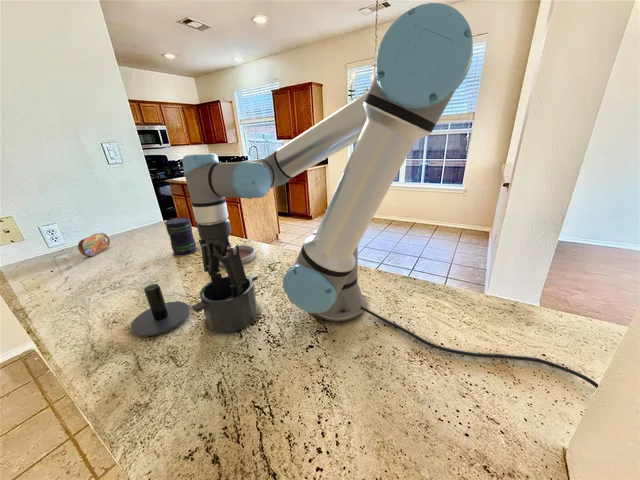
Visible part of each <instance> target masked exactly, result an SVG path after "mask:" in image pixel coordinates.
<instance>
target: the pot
mask: <svg viewBox="0 0 640 480" xmlns="http://www.w3.org/2000/svg"><path fill="white" fill-rule="evenodd" d="M246 278H247V282H246V283H244V284H242V288H243V293H242V294H240V295H239V296H237V297H234V298H231V299H227V300H225V299H226V298H228V297H230V296H231V295H232V291H231V287H230V286H231V285H232V283H231V281H230V278H229V276H228V275H225V276H222V280H223V285H224V290H225V294H224V295H222V296H220V297H218V298H216V297H215V293H214V289H213V285H212V280H211V281H209V282H208V283H206V284H205V285H204V286H203V287H202V288H201V290H200V291H199V293H198V294H199V298H200V301H199V302H197V303H195V304H193V305H192V306H191V309H192V310H193V311H194V312H196V313H199V312H202V311H203V313H204V317H205V321H206V325H207V328H208V329H209V330H210V331H211V332H214V333H217V334H231V333H236V332H238V331H241V330H243V329H245V328H247V327H248V326H250V325H251V324H252V323H253V322H254V321H255V320H256V319H257V317H258V313H259V311H258V309H259V308H258V307H259V306H258V303H257V295H256V290H255V285H254V284H255V283H254V282H255V281H257V280H258V278H259V276H258V275H257V274H253V273H251V274H249V275H248V276H247V275H246Z"/></svg>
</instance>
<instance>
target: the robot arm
mask: <svg viewBox="0 0 640 480" xmlns="http://www.w3.org/2000/svg"><path fill="white" fill-rule="evenodd" d="M472 33H473V32H472V29H471V26H470V24H469V22H468V21H467V19H466V18H465V16H464V14H462V13H461V12H460V11H459V10H458V9H456V8H455V7H453V6H451V5H448V4H446V3H441V2H427V3H423V4H419V5H416V6H414V7H412V8H410V9H409V10H407V11H405V12H404V13H402V14H400V15H399V16H398V18H397V19H395V20H394V21H393V22H392V23H391V25H390V26H389V27H388V29H387V30H386V32H385V33H384V36H383V37H382V39H381V41H380V43H379V45H378V50H377V54H376V58H375V64H374V65H375V66H374V71H375V75H374V77H373V80H372V82H371V84H370V86H369V89H368V91H366V92H365V93H363V94H361V95H359V96H358V97H356V98H355V99H353V100H352V101H351V102H349V103H348V104H345V105H344V106H343V107H341V108H339V109H338V110H337V111H335V112H333V113H332V114H331V115H329V116H327V117H326V118H324V119H323V120H321V121H319V122H318V123H316V124H315V125H313V126H311V127H310V128H309V129H307V130H305V131H304V132H303V133H301V134H299V135H298V136H296V137H294V138H293V139H291V140H290V141H288V142H287V143H285V144H284V145H282V146H280V147H279V148H278V149H276V150H275V151H273V152H271V153H270V154H269V155H267V156H264V157H260V158H255V159H248V160H242V161H235V162H220V161H219V157H218V155H217V154H216V153H212V152H211V153H210V152H209V153H196V154H195V153H194V154H187V155H184V156H183V157H182V159H181V160H182V167H183V173H184V174H183V176H184V178H185V182H186V185H187V190H188V194H189V198H190V203H191V207H192V212H193V215H194V221H195V222H196V223H197V224H196V228H197V232H198V237H199V239H198V243H199V246H200V251H201V258H202V264H203V265H202V266H203V272H205V273H207V274H208V276H209V277H210V280H211V281H212V285H213V289H214V293H215V297H216V298H218V297H220V296H222V295H224V294H225V290H224V285H223V280H222V277H223V275H222V273H221V271H222V270H221V269H220V265H219V261H220V262H222V263H223V265H224V266H223V267H224V270H225V272H226V274H227V276H229V278H230V281H231V283H232V285H231V286H230V287H231V291H232V296H233V298H234V297H237V296H239V295H240V294H242V293H243V288H242V284H244V283H246V282H247V278H246V276H247V275H246V271H245V269H244V268H245V267H244V266H243V265H244V264H242V261H241V258H240V254H239V247H238V246H237V245H238V244H237V245H232V244H231V242H230V239H229V237H230V235H231V234H232V232H233V231H232V226H231V221H230V219H229V211H228V206H227V200H226V198H234V199H235V198H237V199H247V200H252V199H262V198H264V197H265V196H267V194H268V192H269V191H270V190H271V189H273V188H276V187H280V186H282V185H285V184H286V183H288V182H289V180H290V179H293V178H294V177H296V176H298V175H299V174H301V173H303V172H305V171H306V170H308V169H310V168H312V167H314V166H315V165H317V164H319V163H321V162H322V161H325V160H327V159H328V158H330V157H332V156H334V155H335V154H337V153H339V152H341V151H343V150H345V149H346V148H348V147H350V146H351V145H353V144H355V145H354V147H353V150H352V151H351V154H350V156H349V159H348V161H347V162H346V165H345V167H344V170H343V172H342V174H341V176H340V179H339V181H338V183H337V185H336V188H335V190H334V192H333V194H332V197H331V199H330V201H329V204H328V206H327V207H326V209H325V213H324V214H323V217H322V219H321V222H320V223H319V226H318V228H317V229H316V230H314V231H313V232H312V235H311V236H308V237H307V238H306V239H305V240H304V243H303V244H302V246H301V249H300V251H299V253H298V256H297V258H296V260H295V262H294V263H293V265H292V266H290V267H289V268H288V269H287V270H286V273H285V274H284V276H283V279H282V288H283V292H284V293H285V295H286V296H287V299H288V300H289V301H290V302H291V303H292V304H293V305H294V306H295V307H296V308H298V309H299V310H301V311H303V312H306V313H309V314H314V315H315V316H316V317H317V318H319V319H321V320H324V321H328V322H334V323H340V322H347V321H351V320H354V319H355V318H357V317H359V316H360V315H361V314H362V313H363V312H366V313H368V314H369V315H372V316H373V317H375V318H377V319H378V320H381V321H382V322H384V323H386V324H387V325H390V326H391V327H393V328H396V329H398V330H399V331H402V332H404V333H406V334H407V335H409V336H411V337H413V338H414V339H416V340H418V341H419V342H421V343H422V344H425V345H427V346H428V347H431V348H434V349H437V350H440V351H442V352H447V353H451V354H456V355H463V356H468V357H474V358H475V357H476V358H488V359H489V358H492V359H505V360H506V359H507V360H514V361H515V360H516V361H526V362H529V361H530V362H535V363H538V364H539V363H540V364H542V365H547V366H549V367H552V368H555V369H558V370H560V371H563V372H566V373H568V374H571V375H574V376H576V377H578V378H580V379H582V380H584V381H585V382H587V383H589V384H590V385H592V386H593V387H594V388H596V389H597V387H598V385H599V383H597V382H596V381H594V380H593V379H591V378H590V377H588V376H586V375H584V374H583V373H580V372H578V371H575V370H573V369H571V368H568V367H566V366H563V365H560V364H557V363H554V362H552V361H548V360H545V359H542V358H537V357H530V356H521V355H510V354H498V353H479V352H470V351H465V350H464V351H463V350H458V349H453V348H447V347H443V346H441V345H438V344H434V343H432V342H430V341H428V340H426V339H423V338H421V337H420V336H418V335H417V334H415V333H414V332H412V331H410V330H408V329H407V328H404V327H402V326H400V325H398V324H397V323H394V322H392V321H390V320H388V319H386V318H384V317H382V316H380V314H379V315H378V314H377V313H375V312H373V311H371V310H370V309H368V308H366V307H365V298H364V295H363V293H362V290H361V286H360V284H359V280H358V279H359V278H358V275H359V273H358V271H359V270H358V268H359V267H358V265H359V264H358V260H359V259H358V256H359V255H358V254H359V253H358V251H359V250H358V249H359V248H358V247H359V244H360V242H361V240H362V238H363V236H364V235H365V233H366V231H367V229H368V228H369V225H370V224H371V222H372V220H373V219H374V217H375V215H376V213H377V211H378V209H380V205H381V204H382V202H383V201H384V199H385V196H386V195H387V193H388V192H389V189H390V187H391V186H392V185H393V182H394V180H395V179H396V176H397V175H398V173H399V171H400V169H401V168H402V166H403V165H404V162H405V161H406V159H407V157H408V155H409V153H410V151H411V150H412V148H413V147H414V144H415V143H416V142H417V141H419V140H420V139H423V138H426V137H428V136H430V135H431V133H432V132H433V130H434V128H436V126H437V123H438V122H439V120H440V118H441V116H442V115H443V113H444V111H445V109H446V108H447V106H448V104H449V102H451V99H452V97H453V95H454V93H455V92H456V91H457V90H458V89H459V87H460V86H461V85H462V83H463V82H464V80H465V79H466V78H467V75H468V73H469V71H470V68H471V66H472V60H473V55H474V54H473V53H474V40H473V39H474V38H473V34H472ZM227 255H228V256H227ZM225 256H227V257H225ZM223 257H225V258H223Z"/></svg>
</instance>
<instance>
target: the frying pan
mask: <svg viewBox="0 0 640 480" xmlns="http://www.w3.org/2000/svg"><path fill="white" fill-rule="evenodd" d="M237 246H238V247H239V254H240V258H241V261H242V265H244V264H247V263H249V262H251V261H252V260H253V259H254V258H255V255H256V252H257V251H256V248H255V247H253V246H251V245H248V244H247V245H245V244H241V245H238V244H237ZM227 256H228V255H227ZM227 256H225V257H227ZM225 257H223V258H225ZM219 266H221V267H224V265H223V263H222V262H220V261H219Z"/></svg>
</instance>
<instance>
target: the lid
mask: <svg viewBox="0 0 640 480" xmlns="http://www.w3.org/2000/svg"><path fill="white" fill-rule="evenodd" d="M161 288H162V287H161V285H160V284H159V283H152V284H149V285H147V286H146V287H144V289H143V291H144V294H145V297H146V300H147V302H148V305H149V308H148V309H146V310H144V311H142V312H141V313H140V314H138V315H137V316H136V317H135V318H134V319H133V320H132V322H131V324H130V331H131V333H132V334H133V335H134V336H138V337H143V338H145V337H153V336H158V335H161V334H164V333H166V332H169V331H171V330H173V329H175V328H177V327H179V326H180V325H181V324H182V323H184V322H185V321H186V320H187V319H188V317H189V316H190V314H191V307H190V305H189V304H188V303H186V302H183V301H169V302H166V301H165V298H164V295H163V292H162V289H161Z"/></svg>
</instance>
